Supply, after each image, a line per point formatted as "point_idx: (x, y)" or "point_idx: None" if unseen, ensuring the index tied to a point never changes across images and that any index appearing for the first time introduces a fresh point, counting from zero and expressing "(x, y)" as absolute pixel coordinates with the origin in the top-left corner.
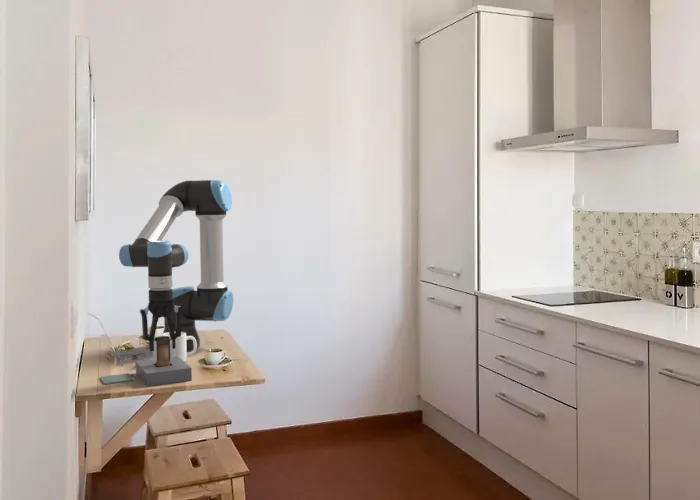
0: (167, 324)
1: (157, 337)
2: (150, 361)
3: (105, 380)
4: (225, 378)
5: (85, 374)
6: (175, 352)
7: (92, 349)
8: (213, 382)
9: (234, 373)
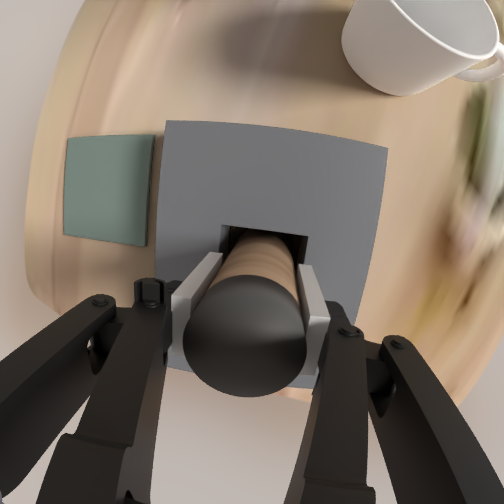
0: (305, 445)
1: (206, 328)
2: (227, 164)
3: (70, 198)
4: None
5: (59, 72)
6: (400, 76)
7: None
8: None
9: (456, 352)
